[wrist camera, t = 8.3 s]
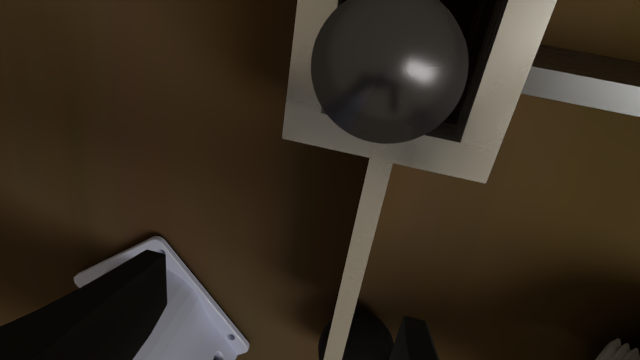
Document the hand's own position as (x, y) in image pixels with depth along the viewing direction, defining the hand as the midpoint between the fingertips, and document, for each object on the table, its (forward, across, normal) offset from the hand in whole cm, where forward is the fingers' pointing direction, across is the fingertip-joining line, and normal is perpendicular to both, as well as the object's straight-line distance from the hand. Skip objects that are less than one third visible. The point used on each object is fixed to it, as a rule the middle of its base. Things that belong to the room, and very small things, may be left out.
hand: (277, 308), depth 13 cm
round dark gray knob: (+9, -2, -7) cm, 12 cm away
